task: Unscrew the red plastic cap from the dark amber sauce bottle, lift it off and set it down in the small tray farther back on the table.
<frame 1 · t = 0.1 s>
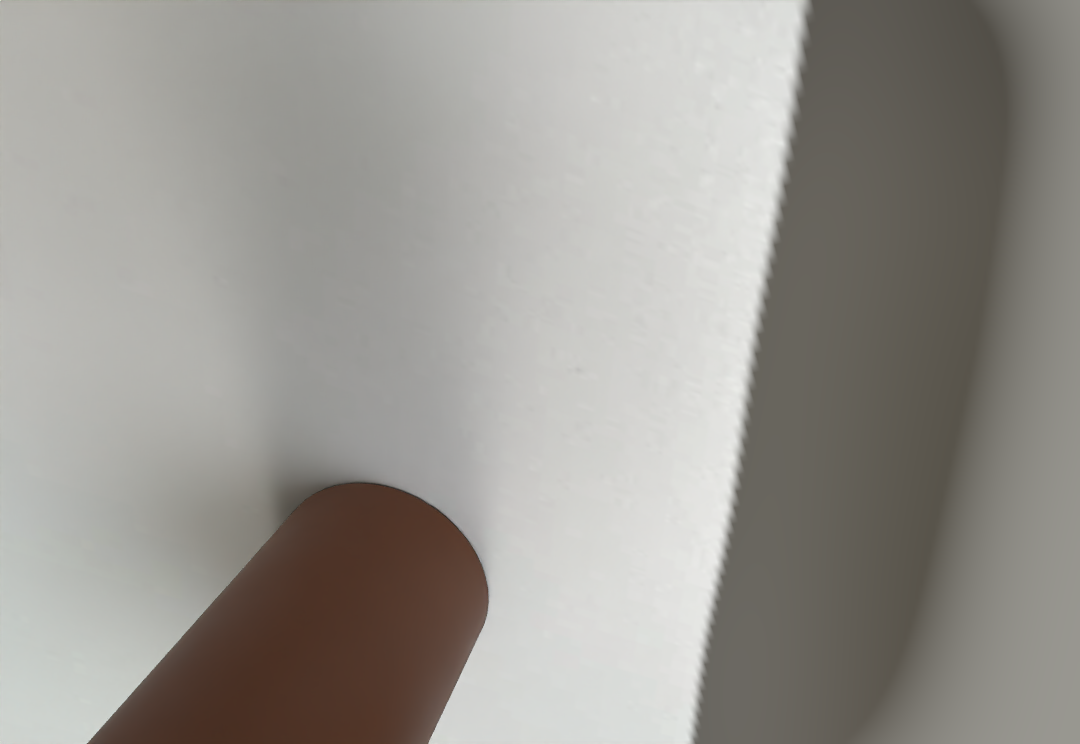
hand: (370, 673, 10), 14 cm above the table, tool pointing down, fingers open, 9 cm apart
bottle: (382, 578, 28), on the table
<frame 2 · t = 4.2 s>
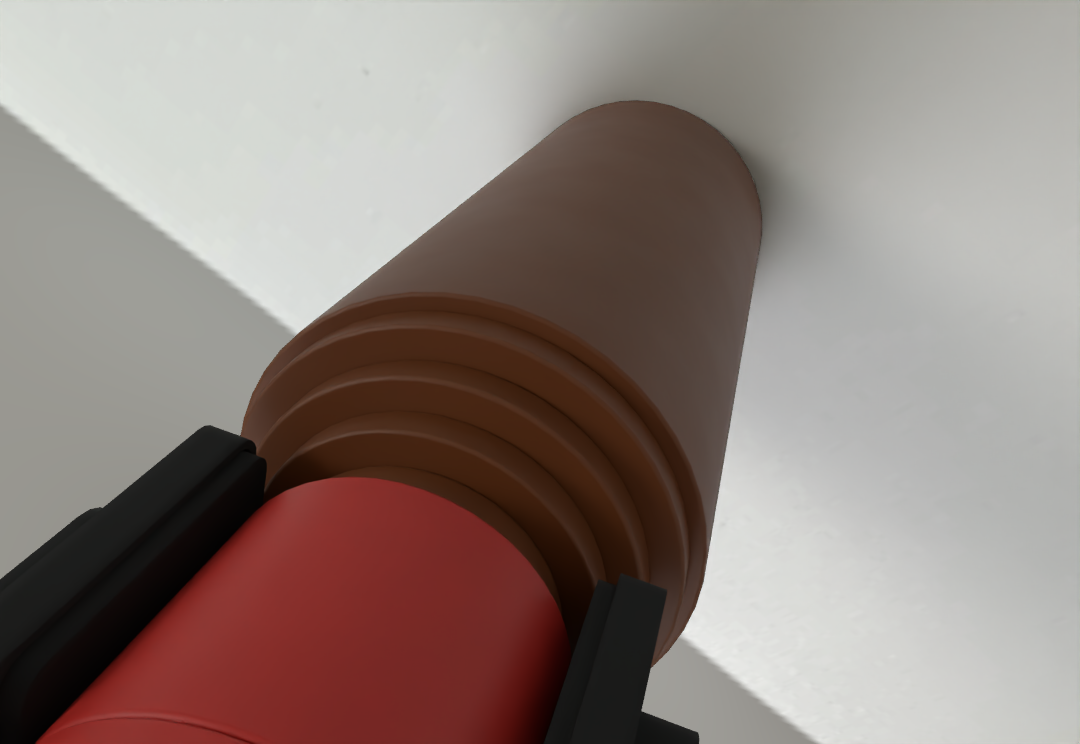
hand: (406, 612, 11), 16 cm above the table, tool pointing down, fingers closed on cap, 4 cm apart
bottle: (635, 227, 25), on the table
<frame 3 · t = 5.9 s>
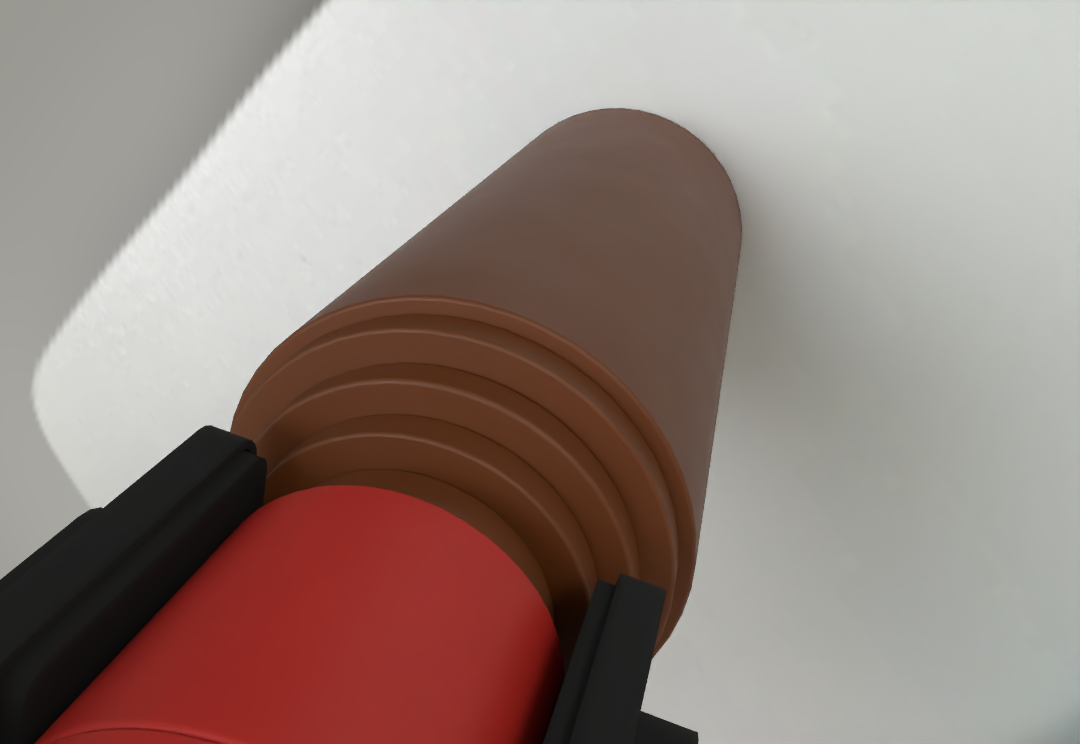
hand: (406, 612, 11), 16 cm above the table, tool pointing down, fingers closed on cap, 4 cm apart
bottle: (616, 233, 25), on the table
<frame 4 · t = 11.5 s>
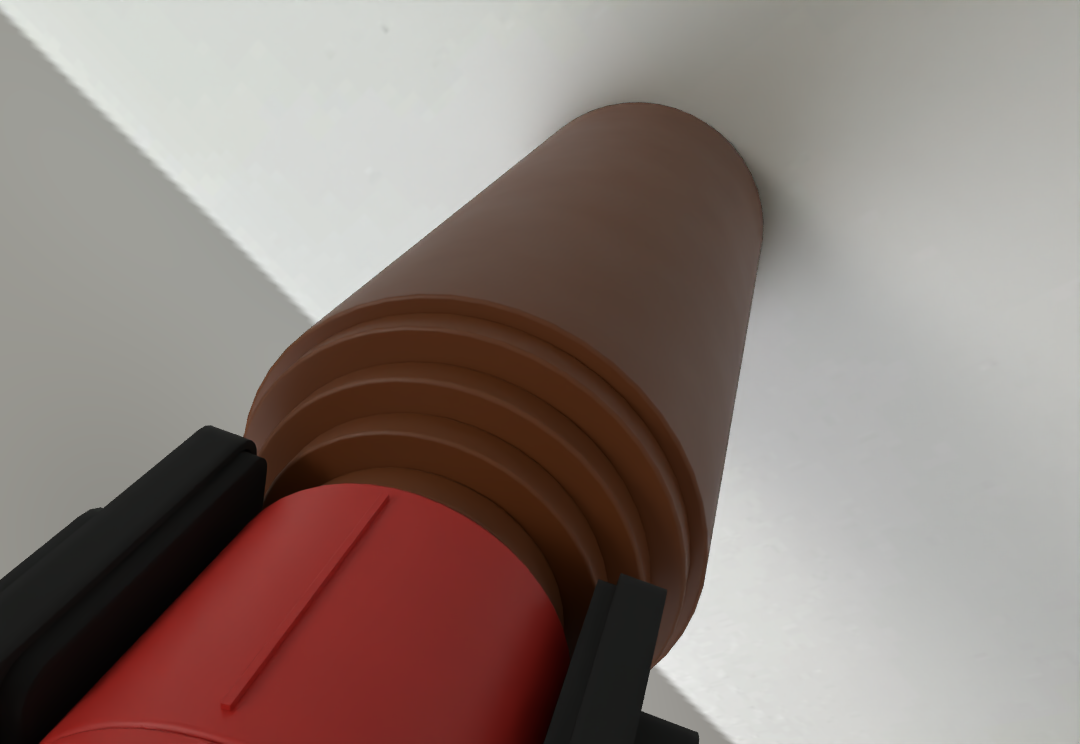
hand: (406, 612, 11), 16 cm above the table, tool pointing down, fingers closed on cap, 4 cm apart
bottle: (636, 228, 25), on the table
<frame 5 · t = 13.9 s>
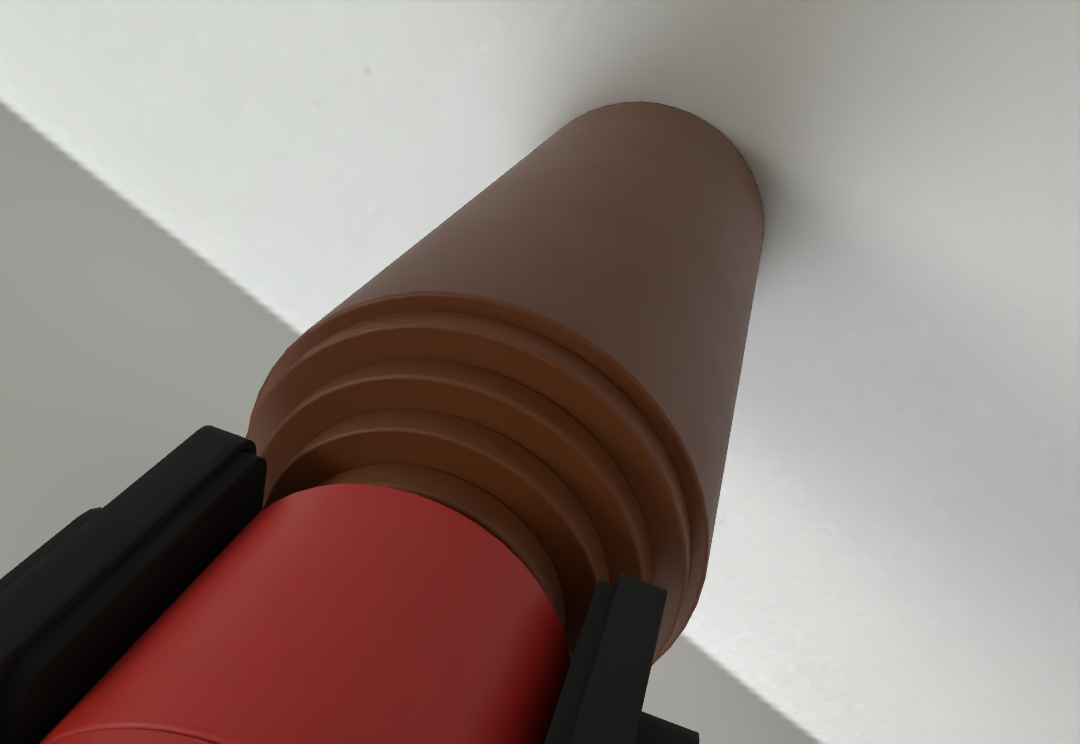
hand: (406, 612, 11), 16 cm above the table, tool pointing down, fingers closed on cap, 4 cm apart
bottle: (637, 227, 25), on the table
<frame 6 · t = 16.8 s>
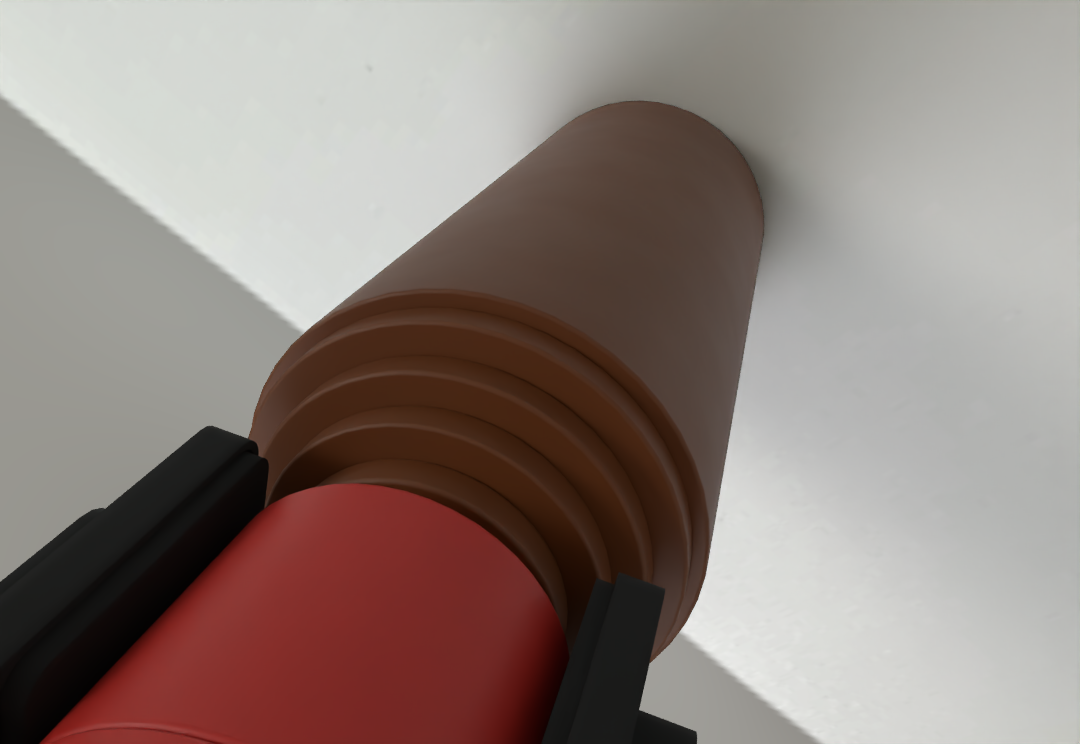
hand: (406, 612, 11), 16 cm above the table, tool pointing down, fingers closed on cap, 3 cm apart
bottle: (638, 226, 25), on the table
when the fingers open (2 cm above the table, at t = 27.2 s): cap drops 2 cm, resting on tray.
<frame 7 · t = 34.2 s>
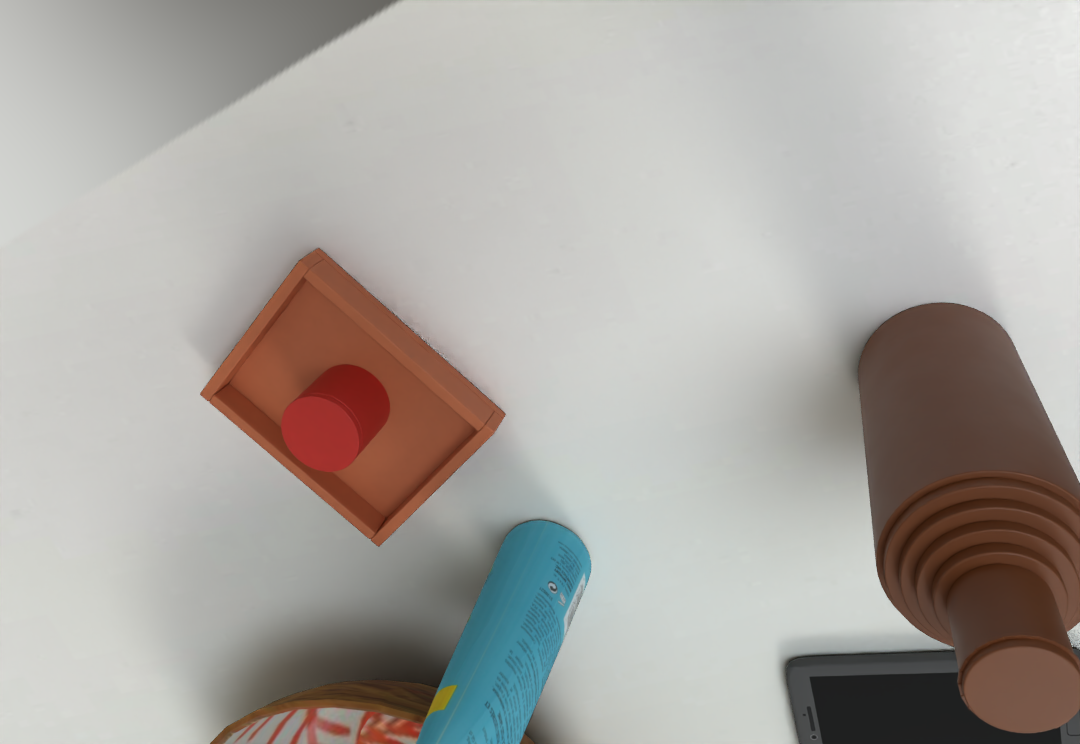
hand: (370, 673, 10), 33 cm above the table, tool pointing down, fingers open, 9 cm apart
tray: (358, 395, 49), on the table
cap: (323, 431, 46), point 4 cm above the table, off its thread, touching tray
cell phone: (935, 706, 48), on the table
bottle: (936, 372, 41), on the table
tube: (545, 556, 51), on the table
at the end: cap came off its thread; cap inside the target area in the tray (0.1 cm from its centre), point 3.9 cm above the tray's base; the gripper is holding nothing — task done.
